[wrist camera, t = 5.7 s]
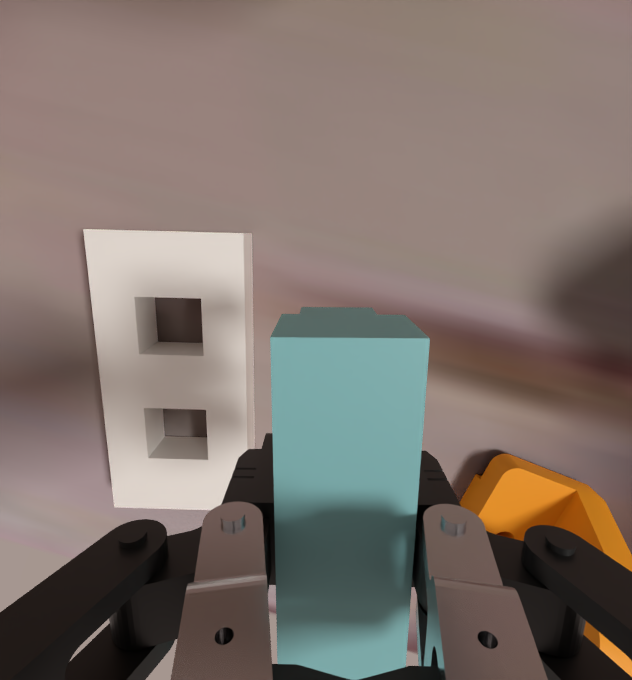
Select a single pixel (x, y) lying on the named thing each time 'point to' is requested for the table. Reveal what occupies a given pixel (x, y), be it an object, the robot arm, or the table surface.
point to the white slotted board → (173, 362)
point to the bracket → (547, 516)
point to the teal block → (346, 485)
